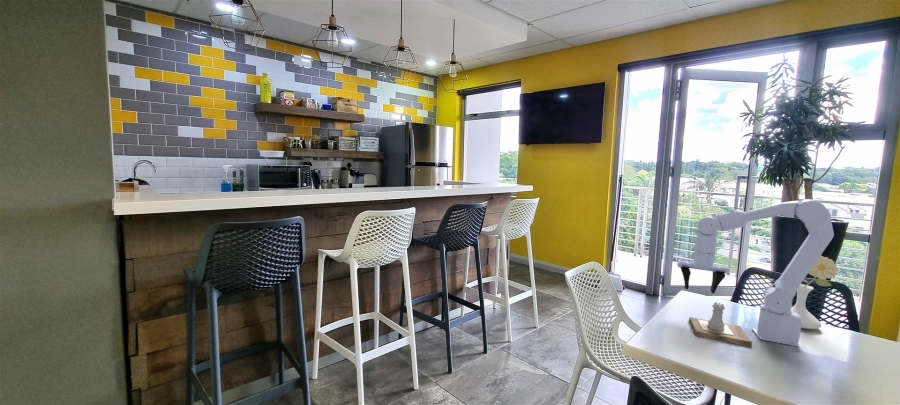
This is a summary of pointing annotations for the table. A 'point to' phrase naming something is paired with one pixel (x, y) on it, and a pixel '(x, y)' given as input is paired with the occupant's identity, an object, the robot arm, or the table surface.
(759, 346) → the table surface
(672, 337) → the table surface
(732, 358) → the table surface
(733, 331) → the base board
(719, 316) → the rook chess piece
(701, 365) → the table surface
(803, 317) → the flower in vase
